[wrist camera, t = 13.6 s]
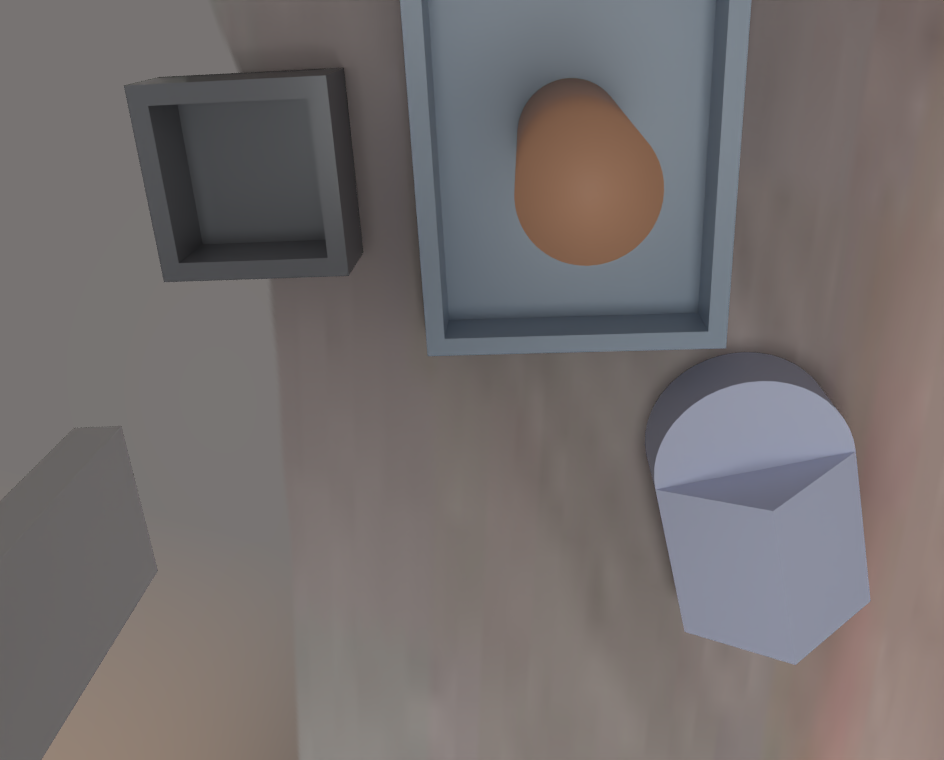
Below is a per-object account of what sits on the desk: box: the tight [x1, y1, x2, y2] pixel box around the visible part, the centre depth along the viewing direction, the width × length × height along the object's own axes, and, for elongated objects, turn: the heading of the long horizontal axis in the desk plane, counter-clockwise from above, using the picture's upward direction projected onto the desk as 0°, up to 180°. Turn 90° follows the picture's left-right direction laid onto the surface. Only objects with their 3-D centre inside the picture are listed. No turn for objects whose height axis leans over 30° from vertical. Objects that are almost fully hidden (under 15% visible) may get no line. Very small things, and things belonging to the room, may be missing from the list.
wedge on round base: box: [645, 352, 870, 665], centre depth 40 cm, size 9×7×13 cm
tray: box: [400, 0, 751, 356], centre depth 36 cm, size 13×18×3 cm
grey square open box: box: [124, 68, 363, 282], centre depth 37 cm, size 8×8×4 cm
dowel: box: [514, 78, 664, 266], centre depth 31 cm, size 4×4×12 cm
